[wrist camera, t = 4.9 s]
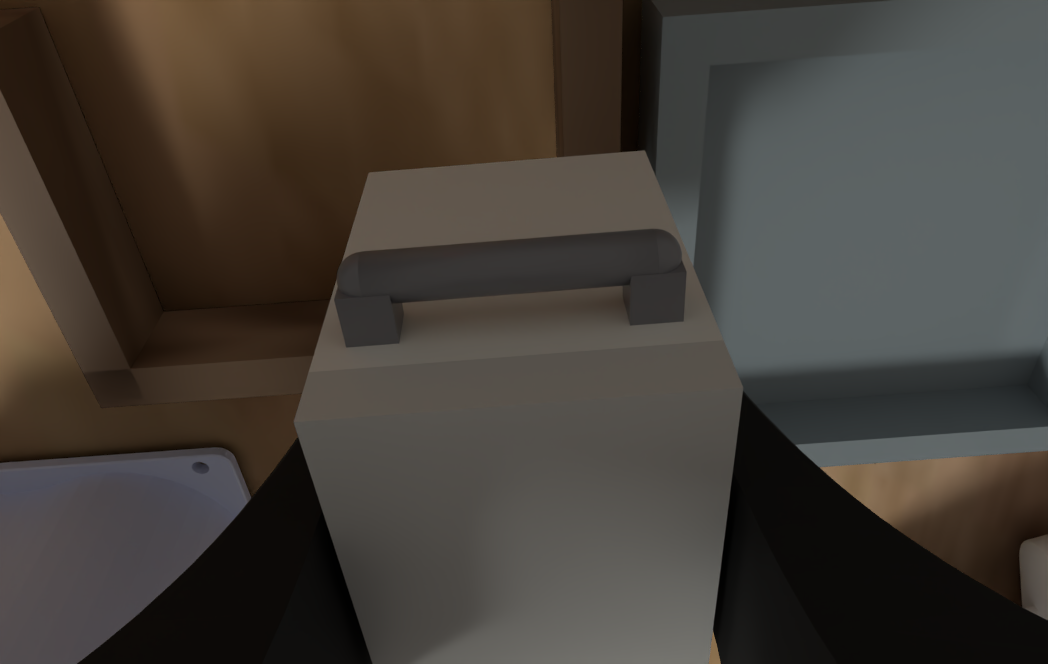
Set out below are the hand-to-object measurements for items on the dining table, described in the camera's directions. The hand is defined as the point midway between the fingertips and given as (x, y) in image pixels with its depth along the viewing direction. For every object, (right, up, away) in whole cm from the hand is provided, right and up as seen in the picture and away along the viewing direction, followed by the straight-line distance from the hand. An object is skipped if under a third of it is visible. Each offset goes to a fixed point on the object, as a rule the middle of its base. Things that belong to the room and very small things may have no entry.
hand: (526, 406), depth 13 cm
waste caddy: (0, +2, +2) cm, 2 cm away
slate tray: (+9, +4, +8) cm, 13 cm away
